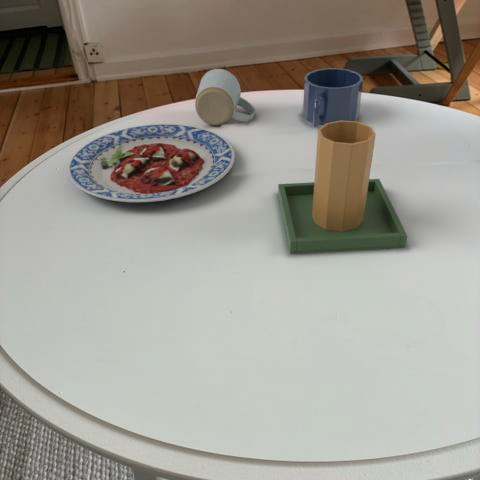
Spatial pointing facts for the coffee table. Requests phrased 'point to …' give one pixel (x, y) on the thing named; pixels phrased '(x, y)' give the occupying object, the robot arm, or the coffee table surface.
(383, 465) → the coffee table surface
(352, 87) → the blue mug
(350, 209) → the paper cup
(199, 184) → the ceramic plate
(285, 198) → the green tray
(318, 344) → the coffee table surface
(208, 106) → the ceramic mug
